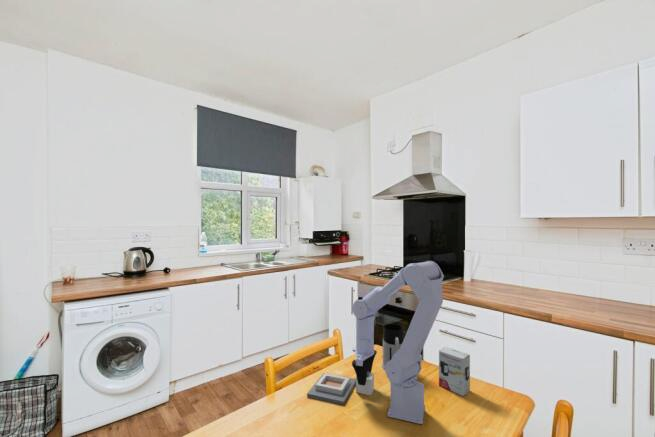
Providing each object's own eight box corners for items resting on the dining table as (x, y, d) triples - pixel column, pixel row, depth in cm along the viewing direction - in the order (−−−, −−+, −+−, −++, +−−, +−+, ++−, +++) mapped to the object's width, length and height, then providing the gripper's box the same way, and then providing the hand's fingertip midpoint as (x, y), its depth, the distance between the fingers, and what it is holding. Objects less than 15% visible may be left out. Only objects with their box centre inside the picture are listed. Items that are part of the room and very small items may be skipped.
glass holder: (402, 362, 117) (402, 323, 118) (411, 380, 103) (411, 337, 103) (380, 361, 118) (380, 323, 118) (385, 380, 103) (385, 336, 104)
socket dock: (356, 382, 102) (356, 374, 102) (343, 405, 89) (343, 396, 89) (323, 375, 107) (323, 368, 107) (307, 396, 93) (307, 388, 94)
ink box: (438, 385, 100) (437, 350, 100) (445, 380, 103) (444, 346, 104) (463, 396, 94) (463, 358, 94) (470, 390, 97) (470, 354, 97)
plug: (373, 389, 98) (373, 370, 98) (371, 395, 94) (371, 376, 94) (359, 386, 100) (359, 368, 100) (355, 392, 96) (355, 373, 96)
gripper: (358, 327, 106) (358, 366, 105) (346, 342, 92) (346, 387, 92) (378, 330, 103) (378, 370, 103) (369, 346, 90) (368, 392, 89)
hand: (364, 378), depth 97 cm, fingers open, 7 cm apart
